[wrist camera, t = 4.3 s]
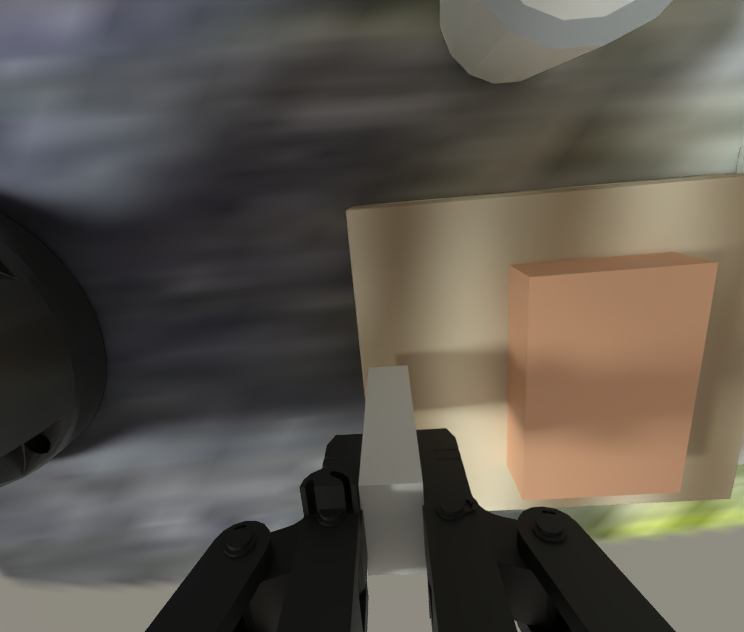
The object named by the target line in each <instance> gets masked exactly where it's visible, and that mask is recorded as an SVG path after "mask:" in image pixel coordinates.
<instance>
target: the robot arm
mask: <svg viewBox="0 0 744 632" xmlns="http://www.w3.org/2000/svg"><path fill="white" fill-rule="evenodd" d="M105 379H106V358H105V350H104V344H103V339H102V336H101V332H100V328H99V326H98V323H97V320H96V317H95V315H94V313H93V310H92V308H91V306H90V304H89V302H88V300H87V298H86V297H85V295H84V293H83V291H82V290H81V288H80V287H79V285H78V284H77V282H76V281H75V279H74V278H73V276H72V275H71V274H70V273H69V271H68V270H67V269H66V267H65V266H64V265H63V264H62V263H61V262H60V260H59V259H58V258H57V257H56V256H55V255H54V254H53V253H52V252H51V251H50V250H49V249H48V248H47V247H46V246H45V245H44V244H43V243H41V242H40V241H39V240H38V239H37V238H36V237H34V236H33V235H32V234H31V233H29V232H28V231H27V230H25V229H24V228H23V227H21V226H20V225H18V224H17V223H15V222H14V221H12V220H11V219H9V218H7V217H6V216H4V215H2V214H0V487H2V486H4V485H7V484H9V483H12V482H14V481H16V480H19V479H21V478H23V477H25V476H27V475H29V474H30V473H32V472H34V471H35V470H37V469H38V468H40V467H42V466H43V465H44V464H46V463H47V462H48V461H50V460H51V459H52V458H53V457H55V456H56V455H57V454H58V453H59V452H61V451H62V450H63V449H64V448H66V447H67V446H68V445H69V444H70V443H72V442H73V441H74V440H75V439H76V438H77V437H78V436H79V435H81V433H82V432H83V431H84V430H85V429H86V428H87V426H88V425H89V424H90V422H91V421H92V419H93V417H94V416H95V414H96V412H97V409H98V407H99V405H100V402H101V399H102V396H103V391H104V386H105ZM300 493H301V499H302V506H303V512H304V518H303V519H302V520H300V521H299V522H297V523H296V524H294V525H291V526H289V527H286V528H283V529H280V530H277V531H273V532H270V531H269V529H268V528H267V527H266V526H265V524H263V523H260V522H257V521H244V522H241V523H237V524H234V525H232V526H231V527H229V528H227V529H226V530H224V531H223V532H222V533H221V534H220V535H219V536H218V537H217V538H216V539H215V540H214V541H213V543H212V544H211V545H210V547H209V548H208V549H207V551H206V552H205V553H204V555H203V556H202V557H201V558H200V560H199V561H198V562H197V564H196V565H195V566H194V568H193V569H192V570H191V572H190V573H189V574H188V576H187V577H186V578H185V580H184V581H183V582H182V583H181V585H180V586H179V587H178V589H177V590H176V591H175V593H174V594H173V595H172V597H171V598H170V599H169V601H168V602H167V603H166V605H165V606H164V607H163V609H162V610H161V611H160V612H159V614H158V615H157V616H156V618H155V619H154V620H153V622H152V623H151V624H150V626H149V627H148V628H147V630H146V631H145V632H367V621H368V589H367V569H368V575H369V576H372V575H400V574H426V573H427V576H428V593H429V612H430V618H431V622H432V632H517V629H516V626H515V622H514V620H515V621H517V624H518V627H519V628H520V630H521V632H676V631H674V630H673V628H672V627H671V626H670V625H669V624H668V623H667V622H666V620H665V619H664V618H663V617H662V616H661V615H660V614H659V613H658V612H657V611H656V609H655V608H654V607H653V606H652V605H651V604H650V603H649V602H648V600H646V598H645V597H644V596H643V595H642V594H641V593H640V592H639V591H638V589H637V588H636V587H635V586H634V585H633V584H632V583H631V582H630V581H629V580H628V578H627V577H626V576H625V575H624V574H623V573H622V572H621V571H620V570H619V568H618V567H617V566H616V565H615V564H614V563H613V562H612V561H611V560H610V559H609V557H607V555H606V554H605V553H604V552H603V551H602V550H601V548H600V547H599V546H598V545H597V544H596V543H595V542H594V541H593V540H592V539H591V537H590V536H589V535H588V534H587V533H586V532H585V531H584V530H583V529H582V527H581V526H580V525H579V524H578V523H577V522H576V521H575V520H573V519H572V518H571V517H570V516H569V515H567V514H565V513H563V512H561V511H559V510H557V509H554V508H549V507H543V506H542V507H531V508H529V509H527V510H525V511H523V512H522V513H521V515H520V516H519V517H518V520H515V519H510V518H506V517H501V516H498V515H495V514H492V513H490V512H488V511H486V510H485V509H483V508H482V507H481V506H479V504H478V502H477V500H476V499H474V498H473V496H472V494H471V490H470V487H469V483H468V480H467V476H466V472H465V469H464V465H463V462H462V460H461V455H460V451H459V448H458V444H457V441H456V437H455V436H454V435H453V434H452V433H451V432H450V431H449V430H448V429H447V428H439V429H421V430H416V426H415V418H414V411H413V403H412V395H411V388H410V380H409V372H408V365H405V366H389V367H373V368H369V370H368V381H367V393H366V404H365V415H364V427H363V434H350V435H335V437H334V438H333V439H332V440H331V441H330V442H329V444H328V445H327V448H326V452H325V459H324V461H323V468H322V469H320V470H318V471H316V472H314V473H311V474H310V475H309V476H308V477H306V478H305V479H304V480H303V482H302V484H301V486H300Z"/></svg>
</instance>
